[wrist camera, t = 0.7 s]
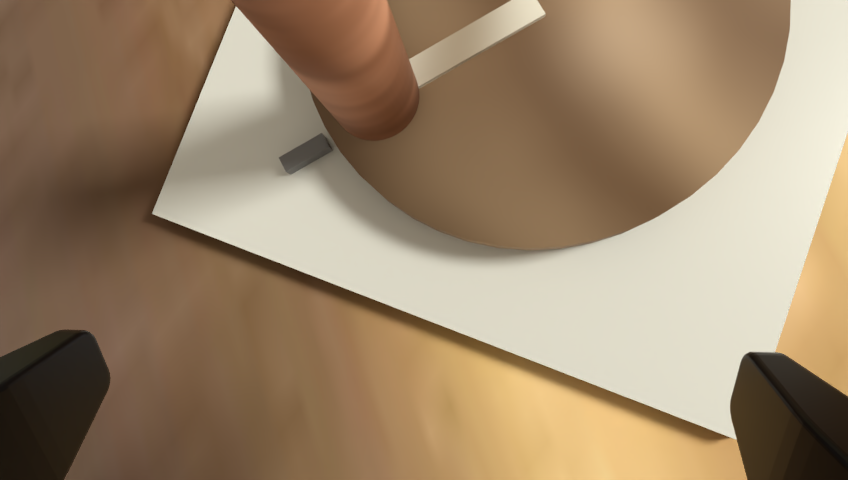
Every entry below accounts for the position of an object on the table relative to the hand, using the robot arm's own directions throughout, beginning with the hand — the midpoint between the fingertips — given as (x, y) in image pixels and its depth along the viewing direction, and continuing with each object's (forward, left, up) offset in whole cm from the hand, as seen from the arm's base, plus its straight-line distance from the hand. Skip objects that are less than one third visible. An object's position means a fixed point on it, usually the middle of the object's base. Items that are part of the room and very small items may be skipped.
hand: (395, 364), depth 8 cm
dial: (+11, +1, -12) cm, 16 cm away
